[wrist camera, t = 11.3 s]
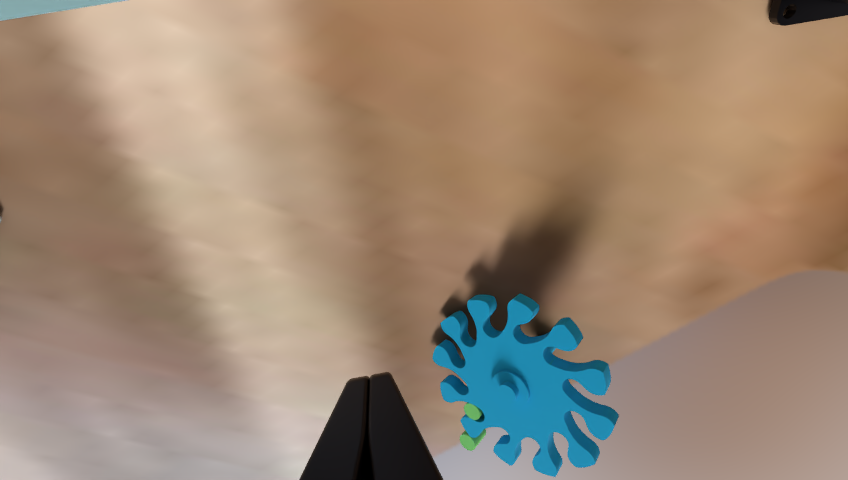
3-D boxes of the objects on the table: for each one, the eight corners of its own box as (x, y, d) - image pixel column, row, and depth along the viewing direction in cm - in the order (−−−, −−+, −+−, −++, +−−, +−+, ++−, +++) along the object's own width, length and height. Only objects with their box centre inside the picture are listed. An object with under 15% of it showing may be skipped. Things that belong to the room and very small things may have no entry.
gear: (483, 260, 20) (664, 428, 17) (533, 230, 25) (683, 359, 22) (395, 380, 26) (515, 519, 23) (447, 339, 31) (554, 451, 28)
